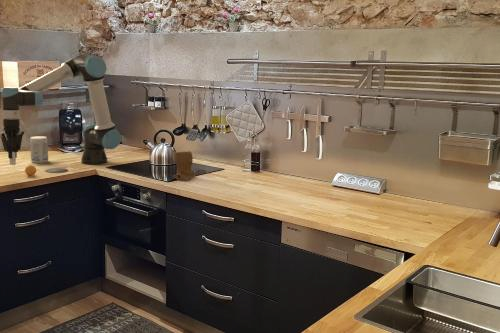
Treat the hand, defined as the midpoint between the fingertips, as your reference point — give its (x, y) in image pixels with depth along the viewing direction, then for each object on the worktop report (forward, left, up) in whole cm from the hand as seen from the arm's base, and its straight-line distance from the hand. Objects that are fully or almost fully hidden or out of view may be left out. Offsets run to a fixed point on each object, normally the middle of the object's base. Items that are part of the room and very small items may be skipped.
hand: (12, 164), depth 266 cm
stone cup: (-84, +22, -8) cm, 87 cm away
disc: (-23, -15, -7) cm, 28 cm away
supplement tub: (-17, -43, -8) cm, 46 cm away
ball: (-9, -6, -5) cm, 11 cm away
